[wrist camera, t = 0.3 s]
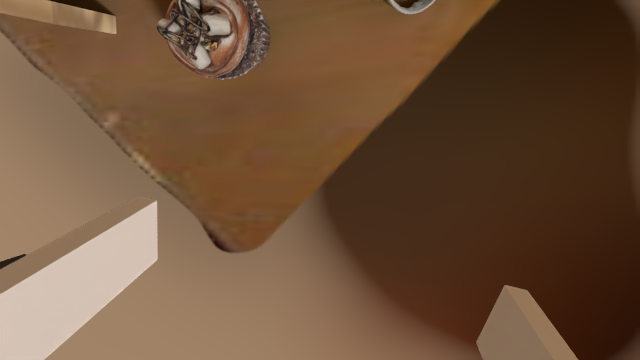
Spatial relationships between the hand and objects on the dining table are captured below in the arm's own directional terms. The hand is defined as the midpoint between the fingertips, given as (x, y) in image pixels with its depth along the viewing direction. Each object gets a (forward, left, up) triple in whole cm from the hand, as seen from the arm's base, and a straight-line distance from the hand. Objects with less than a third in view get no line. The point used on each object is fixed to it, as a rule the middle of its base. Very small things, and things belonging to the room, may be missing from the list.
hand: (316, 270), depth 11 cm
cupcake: (-8, -16, -28) cm, 33 cm away
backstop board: (-7, -38, -28) cm, 47 cm away
